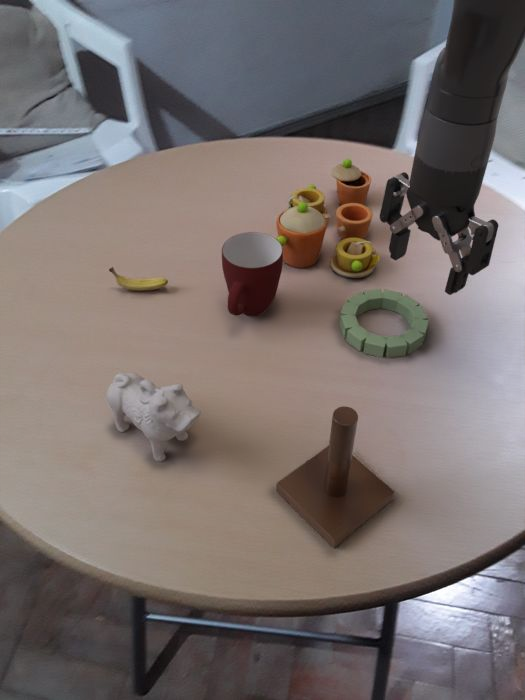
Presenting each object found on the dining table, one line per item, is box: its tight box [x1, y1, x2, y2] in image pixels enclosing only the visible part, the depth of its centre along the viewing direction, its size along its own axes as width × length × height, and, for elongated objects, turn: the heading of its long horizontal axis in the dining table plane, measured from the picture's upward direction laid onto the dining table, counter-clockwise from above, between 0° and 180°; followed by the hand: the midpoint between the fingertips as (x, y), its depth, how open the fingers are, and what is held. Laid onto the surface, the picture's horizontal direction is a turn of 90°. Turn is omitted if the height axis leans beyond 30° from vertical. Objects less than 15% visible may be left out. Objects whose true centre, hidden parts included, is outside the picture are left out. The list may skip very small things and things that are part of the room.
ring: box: [338, 288, 430, 359], centre depth 92 cm, size 12×12×2 cm
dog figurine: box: [105, 372, 202, 462], centre depth 76 cm, size 5×13×11 cm, turn 51°
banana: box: [108, 266, 169, 291], centre depth 97 cm, size 8×2×4 cm, turn 90°
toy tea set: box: [276, 158, 380, 279], centre depth 106 cm, size 26×16×10 cm, turn 174°
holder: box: [275, 405, 396, 549], centre depth 69 cm, size 9×9×14 cm
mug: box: [221, 231, 284, 317], centre depth 92 cm, size 11×8×10 cm
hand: (424, 273), depth 82 cm, fingers open, 8 cm apart
